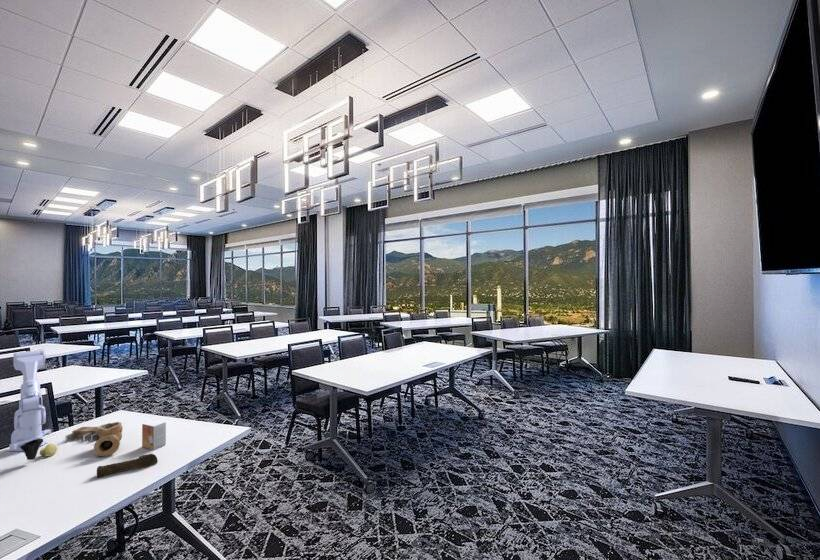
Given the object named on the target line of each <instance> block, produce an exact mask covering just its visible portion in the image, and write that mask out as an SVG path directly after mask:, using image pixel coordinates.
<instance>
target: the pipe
mask: <svg viewBox="0 0 820 560" xmlns="http://www.w3.org/2000/svg"><path fill="white" fill-rule="evenodd" d="M97 427H98V428H97V434H98V436H99V437H100V438H99V439H97V440H95V442H94V445H93V451H94V454H95V455H96V456H99V457H108V456H111V455H113V454H115V453H116V452H117V451H118V450H119V448H120V445H121V444H120V443H121V440H122V437H123V433H122V432H123V429H124V428H123V425H122V421H121V422H120V421H116V422H112V423H109V422H108V423H105V424H101V425H99V426H97Z"/></svg>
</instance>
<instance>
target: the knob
mask: <svg viewBox="0 0 820 560" xmlns="http://www.w3.org/2000/svg"><path fill="white" fill-rule="evenodd" d="M57 450H58V447H57V445H56V444H55V443H52V442H51V443H47V444H46V446H45V447H43V448H41V449H40V450H39V455H40V456H41V457H45V456H47V457H51V456H52V455H53V456H54V455H55V454H56V453H57ZM53 456H52V457H53Z"/></svg>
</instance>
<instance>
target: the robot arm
mask: <svg viewBox="0 0 820 560" xmlns="http://www.w3.org/2000/svg"><path fill="white" fill-rule="evenodd" d="M45 363H46V350H44V349H36V350H28V351H27V350H26V351H19V352H14V353H13V368H14V370H16V371H20V372H21V374H22V384H21V385H20V400H19V402H18V403H19V404H18V409H17V410H16V411H15V412H14V417H13V424H14V425H13V426H14V427H13V428H14V430H13V431H12V433H11V436H10V444H9V445H8V447H9V448H8V449H9V450H8V451H9V452H23V453H24V455H25V457H26V460H27V461H28V460H29V461H31V460H34V459H35V460H36V457H37V455H38V450H39V448H40V447H42V446H43V445H47V444H49V443H48V442H49V441H44V439H43V437H45V436H49V435H52V429H50V428H48V429H47V428H46V429H45V430H42V429H43V427H42V426H43V425H44V424H46V422H47V419H46V418H47V416H46V415H47V414H46V413H47V412H46V407H45V406H44V405H43V396H42V393H41V382H40V381H38V380H37V374H38V373H37V372H38V370H39V369H40V368H42V367H44V365H45Z"/></svg>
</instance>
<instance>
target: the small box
mask: <svg viewBox="0 0 820 560" xmlns="http://www.w3.org/2000/svg"><path fill="white" fill-rule="evenodd" d="M141 429H142V430H141V434H142V436H141V438H142V439H141V446H142V448H145V449H146V448H147V449H150V450H153V451H154V450H157V449H159V448H161V446H162V447H164V446H166V444H167V443H166V442H167V439H166V438H167V434H166V433H167V430H166V429H167V422H166V421H161V420H156V419H152V420H149V421H147V422H144V423H142V428H141Z"/></svg>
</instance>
